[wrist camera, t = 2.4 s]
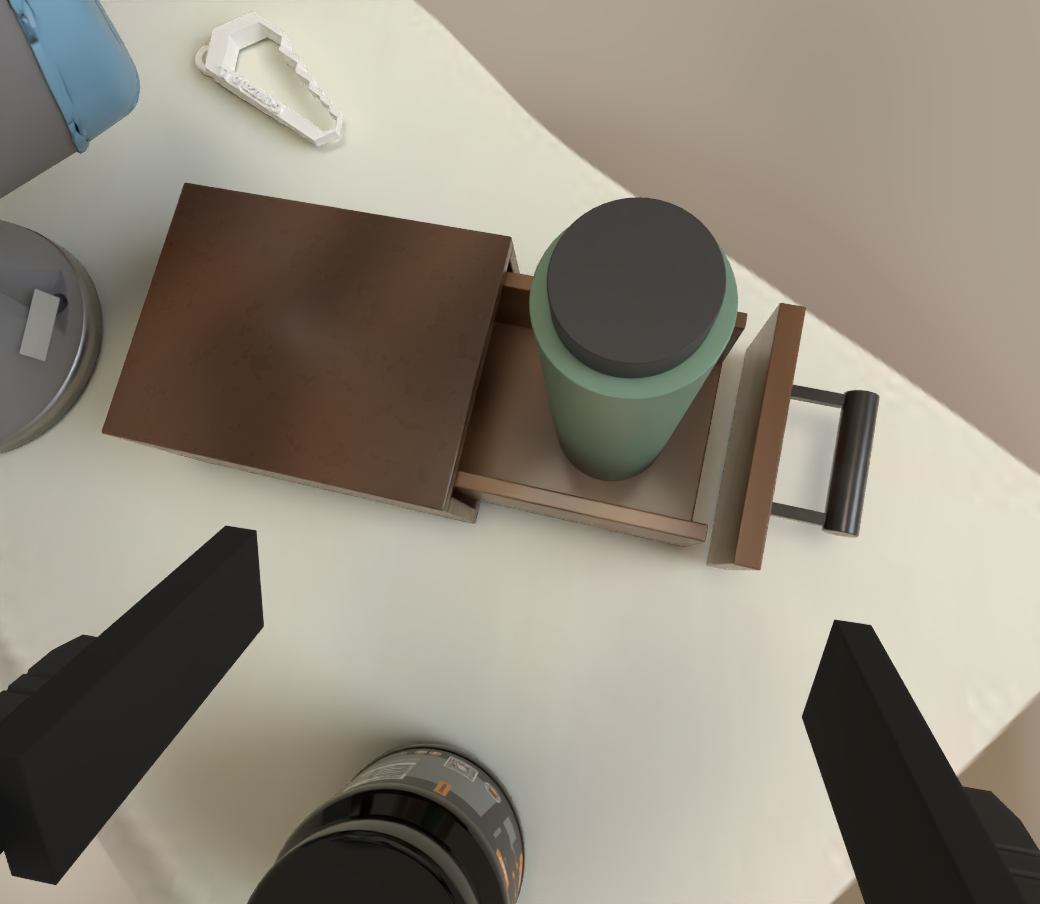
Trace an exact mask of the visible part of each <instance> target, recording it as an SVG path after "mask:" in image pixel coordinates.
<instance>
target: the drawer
mask: <svg viewBox="0 0 1040 904" xmlns="http://www.w3.org/2000/svg"><path fill="white" fill-rule="evenodd" d="M532 280H533V276H529V275H523V274H517V273H512V272H506V276H505V280H504V284H503V288H502V292H501V296H500V300H499V304H498V308H497V312H496V316H495V320H494V324H493V328H492V332H491V336H490V340H489V344H488V348H487V352H486V356H485V360H484V364H483V368H482V372H481V377H480V381H479V385H478V389H477V393H476V397H475V401H474V405H473V409H472V413H471V417H470V421H469V425H468V429H467V433H466V437H465V441H464V445H463V449H462V453H461V457H460V461H459V465H458V469H457V473H456V478H455V482H454V486H453V490H452V494H453V495H457V496H461V497H466V498H470V499H475V500H479V501H484V502H488V503H493V504H497V505H502V506H506V507H510V508H515V509H519V510H524V511H528V512H533V513H537V514H542V515H546V516H550V517H555V518H559V519H564V520H568V521H573V522H577V523H582V524H586V525H590V526H595V527H599V528H604V529H608V530H613V531H617V532H622V533H626V534H631V535H635V536H639V537H644V538H648V539H653V540H657V541H662V542H666V543H671V544H675V545H679V546H688V545H692V544H696V543H701V542H705V539H706V534H707V529H708V525H706V524H702V523H698V522H693V521H692V518H693V513H694V508H695V502H696V497H697V492H698V487H699V481H700V476H701V471H702V466H703V460H704V455H705V450H706V445H707V440H708V434H709V429H710V424H711V419H712V413H713V408H714V403H715V398H716V392H717V387H718V382H719V377H720V372H721V366H722V362H723V361H724V359H725V358H726V356H727V355H728V353H729V352H730V350H731V349H732V347H733V345H734V344H735V342H736V341H737V339H738V338H739V336H740V335H741V333H742V332H743V330H744V329H745V326H746V320H747V314H746V313H742V312H737V317H736V321H735V326H734V329H733V332H732V334H731V337H730V340H729V342H728V343H727V345H726V347H725V349H724V351H723V353H722V354H721V356H720V357H719V359H718V361H717V362H716V364H715V365H714V367H713V369H712V370H711V372H710V374H709V375H708V377H707V378H706V380H705V382H704V383H703V385H702V387H701V388H700V390H699V391H698V393H697V395H696V396H695V398H694V399H693V401H692V403H691V404H690V406H689V408H688V409H687V411H686V412H685V414H684V416H683V417H682V419H681V420H680V422H679V424H678V425H677V427H676V429H675V430H674V432H673V433H672V435H671V437H670V438H669V440H668V441H667V443H666V445H665V446H664V448H663V450H662V451H661V453H660V454H659V456H658V457H657V459H656V460H655V461H654V462H653V463H652V465H651V466H650V467H648V468H647V469H646V470H645V471H643V472H641V473H640V474H638V475H636V476H634V477H631V478H628V479H625V480H618V481H606V480H600V479H596V478H593V477H590V476H588V475H586V474H584V473H582V472H581V471H580V470H578V469H577V468H576V467H575V466H574V465H572V464H571V462H570V461H569V460H568V459H567V457H566V456H565V454H564V453H563V451H562V448H561V446H560V443H559V440H558V436H557V431H556V427H555V423H554V419H553V414H552V410H551V406H550V401H549V397H548V393H547V389H546V384H545V380H544V376H543V371H542V367H541V363H540V359H539V354H538V350H537V346H536V341H535V337H534V333H533V329H532V324H531V318H530V312H529V297H530V289H531V284H532ZM805 310H806V307H802V306H796V305H790V304H784V303H780V304H779V305H778V307H777V308H776V310H775V311H774V312H773V314H772V315H771V317H770V318H769V319H768V321H767V322H766V323H765V325H764V326H763V328H762V329H761V330H760V332H759V333H758V335H757V336H756V337H755V339H754V340H753V342H752V343H751V344H750V346H749V347H748V348H747V350H746V354H745V359H744V365H743V370H742V375H741V381H740V386H739V392H738V397H737V402H736V408H735V413H734V418H733V424H732V429H731V435H730V440H729V445H728V451H727V456H726V461H725V467H724V472H723V478H722V483H721V488H720V494H719V499H718V504H717V510H716V515H715V521H714V526H713V531H712V537H711V542H710V548H709V553H708V558H707V565H708V566H712V567H716V568H721V569H725V570H760V569H761V564H762V558H763V553H764V547H765V541H766V535H767V529H768V524H769V518H770V516H775V517H780V518H784V519H789V520H794V521H798V522H803V523H808V524H812V525H817V526H822V531H824V532H826V533H829V534H833V535H838V536H844V537H858V536H859V529H860V523H861V516H862V509H863V503H864V496H865V490H866V483H867V477H868V470H869V463H870V457H871V450H872V444H873V437H874V431H875V424H876V418H877V411H878V404H879V395H877V394H876V393H873V392H869V391H863V390H852V391H847V392H845V393H844V394H840V393H835V392H829V391H824V390H819V389H813V388H808V387H803V386H797V385H793V380H794V374H795V368H796V362H797V357H798V351H799V345H800V339H801V333H802V328H803V322H804V316H805ZM790 399H794V400H799V401H804V402H810V403H815V404H820V405H825V406H831V407H836V408H841V413H840V419H839V425H838V432H837V438H836V444H835V450H834V456H833V463H832V469H831V475H830V481H829V487H828V494H827V500H826V506H825V512H824V513H822V512H817V511H812V510H807V509H803V508H798V507H793V506H789V505H784V504H779V503H774V502H772V501H773V495H774V489H775V483H776V478H777V472H778V466H779V460H780V455H781V449H782V443H783V437H784V431H785V426H786V420H787V414H788V408H789V403H790Z"/></svg>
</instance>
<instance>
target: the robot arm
mask: <svg viewBox="0 0 1040 904" xmlns="http://www.w3.org/2000/svg"><path fill="white" fill-rule="evenodd" d="M139 93H140V82H139V76H138V73H137V70H136V67H135V65H134V63H133V60H132V58H131V56H130V55H129V53H128V51H127V49H126V47H125V45H124V43H123V41H122V40H121V38H120V36H119V34H118V33H117V31H116V29H115V27H114V26H113V24H112V22H111V21H110V19H109V17H108V15H107V14H106V12H105V10H104V9H103V7H102V5H101V4H100V2H99V0H0V198H2V197H3V196H5V195H7V194H8V193H10V192H12V191H13V190H15V189H16V188H18V187H20V186H21V185H23V184H25V183H26V182H28V181H30V180H31V179H33V178H34V177H36V176H38V175H39V174H41V173H43V172H44V171H46V170H47V169H49V168H51V167H52V166H54V165H56V164H57V163H59V162H60V161H62V160H64V159H65V158H67V157H69V156H70V155H72V154H73V153H75V152H78V153H80V154H81V153H83V152H85V151H86V150H87V148H88V147H89V142H90V141H91V140H93V139H94V138H95V137H97V136H98V135H100V134H101V133H103V132H104V131H105V130H107V129H108V128H110V127H111V126H112V125H114V124H115V123H117V122H118V121H120V120H121V119H122V118H124V117H125V116H127V115H128V114H129V113H130V112H131V111H132V110H133V109H134V107H135V106H136V104H137V102H138V97H139ZM101 331H102V319H101V309H100V303H99V299H98V295H97V292H96V289H95V287H94V284H93V282H92V280H91V278H90V276H89V275H88V273H87V272H86V270H85V269H84V267H83V266H82V265H81V264H80V263H79V261H78V260H77V259H76V258H75V257H73V256H72V255H71V254H70V253H69V252H67V251H66V250H65V249H63V248H62V247H60V246H59V245H57V244H55V243H54V242H52V241H50V240H49V239H47V238H45V237H44V236H42V235H40V234H38V233H37V232H34V231H32V230H30V229H27V228H24V227H21V226H18V225H16V224H12V223H9V222H5V221H0V453H2V452H6V451H9V450H12V449H14V448H17V447H19V446H22V445H24V444H26V443H28V442H30V441H32V440H33V439H35V438H36V437H38V436H40V435H41V434H43V433H44V432H45V431H47V430H48V429H49V428H50V427H52V426H53V425H54V424H55V423H56V422H57V421H58V420H60V419H61V417H62V416H63V415H64V414H65V413H66V412H67V411H68V410H69V409H70V407H71V406H72V405H73V404H74V402H75V401H76V400H77V398H78V397H79V395H80V394H81V392H82V391H83V389H84V387H85V385H86V383H87V382H88V380H89V377H90V375H91V373H92V371H93V368H94V365H95V362H96V359H97V356H98V352H99V347H100V341H101ZM263 627H264V621H263V608H262V595H261V583H260V570H259V557H258V544H257V531H256V530H250V529H244V528H237V527H231V526H225V527H224V528H222V529H221V530H220V531H219V532H218V533H217V534H215V535H214V536H213V537H212V538H211V539H210V540H209V541H207V542H206V543H205V544H204V545H203V546H202V547H201V548H199V549H198V550H197V551H196V552H195V553H194V554H193V555H191V556H190V557H189V558H188V559H187V560H186V561H184V562H183V563H182V564H181V565H180V566H179V567H178V568H176V569H175V570H174V571H173V572H172V573H171V574H170V575H168V576H167V577H166V578H165V579H164V580H163V581H161V582H160V583H159V584H158V585H157V586H156V587H155V588H153V589H152V590H151V591H150V592H149V593H148V594H147V595H145V596H144V597H143V598H142V599H141V600H140V601H139V602H137V603H136V604H135V605H134V606H133V607H132V608H130V609H129V610H128V611H127V612H126V613H125V614H124V615H122V616H121V617H120V618H119V619H118V620H117V621H116V622H114V623H113V624H112V625H111V626H110V627H109V628H108V629H106V630H105V631H104V632H103V633H102V634H101V635H99V636H98V637H94V636H88V635H81V636H79V637H77V638H75V639H73V640H71V641H69V642H67V643H65V644H63V645H61V646H59V647H57V648H55V649H53V650H52V651H51V652H49V653H48V654H47V655H46V656H44V657H43V658H42V659H41V660H40V661H38V662H37V663H36V664H35V665H34V666H32V667H31V668H30V669H29V670H28V673H27V674H23V675H21V676H20V677H19V678H18V679H17V680H15V681H14V682H13V683H12V684H10V685H9V686H8V689H7V691H4V690H3V691H2V692H1V693H0V854H1V853H2V852H3V851H4V852H5V855H6V858H7V862H8V864H9V868H10V871H11V874H12V876H16V877H20V878H25V879H30V880H34V881H39V882H44V883H48V884H53V885H56V884H57V883H58V882H59V881H60V880H61V878H62V877H63V876H64V875H65V873H66V872H67V871H68V870H69V868H70V867H71V866H72V865H73V863H74V862H75V861H76V860H77V858H78V857H79V856H80V855H81V853H82V852H83V851H84V850H85V848H86V847H87V846H88V845H89V843H90V842H91V841H92V840H93V839H94V837H95V836H96V835H97V834H98V832H99V831H100V830H101V829H102V827H103V826H104V825H105V824H106V822H107V821H108V820H109V819H110V817H111V816H112V815H113V814H114V812H115V811H116V810H117V809H118V807H119V806H120V805H121V804H122V802H123V801H124V800H125V799H126V797H127V796H128V795H129V794H130V792H131V791H132V790H133V789H134V787H135V786H136V785H137V784H138V782H139V781H140V780H141V779H142V777H143V776H144V775H145V774H146V773H147V771H148V770H149V769H150V768H151V766H152V765H153V764H154V763H155V761H156V760H157V759H158V758H159V756H160V755H161V754H162V753H163V751H164V750H165V749H166V748H167V746H168V745H169V744H170V743H171V741H172V740H173V739H174V738H175V736H176V735H177V734H178V733H179V731H180V730H181V729H182V728H183V726H184V725H185V724H186V723H187V721H188V720H189V719H190V718H191V716H192V715H193V714H194V713H195V711H196V710H197V709H198V708H199V706H200V705H201V704H202V703H203V702H204V700H205V699H206V698H207V697H208V695H209V694H210V693H211V692H212V690H213V689H214V688H215V687H216V685H217V684H218V683H219V682H220V680H221V679H222V678H223V677H224V675H225V674H226V673H227V672H228V670H229V669H230V668H231V667H232V665H233V664H234V663H235V662H236V660H237V659H238V658H239V657H240V655H241V654H242V653H243V652H244V650H245V649H246V648H247V647H248V645H249V644H250V643H251V642H252V640H253V639H254V638H255V637H256V635H257V634H258V633H259V632H260V630H261V629H262V628H263ZM802 719H803V722H804V725H805V728H806V731H807V734H808V737H809V740H810V743H811V746H812V749H813V751H814V754H815V757H816V760H817V763H818V766H819V769H820V772H821V775H822V778H823V781H824V784H825V787H826V790H827V793H828V796H829V799H830V802H831V805H832V808H833V811H834V814H835V817H836V819H837V822H838V825H839V828H840V831H841V834H842V837H843V840H844V843H845V846H846V849H847V852H848V855H849V858H850V861H851V864H852V867H853V870H854V873H855V876H856V879H857V881H858V884H859V887H860V890H861V893H862V896H863V899H864V902H865V904H1040V850H1039V849H1038V847H1037V846H1036V844H1035V843H1034V841H1033V839H1032V838H1031V836H1030V835H1029V833H1028V831H1027V830H1026V828H1025V827H1024V825H1023V824H1022V822H1021V820H1020V819H1019V818H1018V817H1017V816H1016V815H1014V813H1013V812H1011V810H1010V809H1008V808H1007V807H1006V806H1005V805H1004V804H1003V803H1002V802H1001V801H1000V800H999V799H998V798H997V797H996V796H995V795H994V794H993V793H992V792H991V791H985V790H980V789H974V788H968V787H963V786H962V785H961V783H960V782H959V780H958V778H957V776H956V774H955V773H954V771H953V769H952V767H951V766H950V764H949V762H948V760H947V759H946V757H945V755H944V753H943V751H942V750H941V748H940V746H939V744H938V743H937V741H936V739H935V737H934V735H933V734H932V732H931V730H930V728H929V727H928V725H927V723H926V721H925V720H924V718H923V716H922V714H921V712H920V711H919V709H918V707H917V705H916V704H915V702H914V700H913V698H912V697H911V695H910V693H909V691H908V689H907V688H906V686H905V684H904V682H903V681H902V679H901V677H900V675H899V674H898V672H897V670H896V668H895V666H894V665H893V663H892V661H891V659H890V658H889V656H888V654H887V652H886V651H885V649H884V647H883V645H882V643H881V642H880V640H879V638H878V636H877V635H876V633H875V631H874V629H873V627H872V626H871V625H866V624H860V623H853V622H847V621H840V620H834V622H833V625H832V628H831V631H830V634H829V637H828V640H827V643H826V646H825V649H824V652H823V655H822V658H821V661H820V664H819V667H818V670H817V673H816V676H815V679H814V682H813V685H812V688H811V691H810V694H809V697H808V700H807V703H806V706H805V709H804V712H803V715H802Z"/></svg>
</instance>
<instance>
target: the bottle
mask: <svg viewBox="0 0 1040 904" xmlns="http://www.w3.org/2000/svg"><path fill="white" fill-rule="evenodd" d="M737 308H738V295H737V286H736V281H735V277H734V274H733V271H732V268H731V265H730V263H729V261H728V259H727V257H726V256H725V254H724V252H723V251H722V249H721V248H720V246H719V245H718V244H717V242H716V240H715V239H714V237H713V236H712V234H711V233H710V232H709V230H708V229H707V228H706V227H705V226H704V225H703V224H702V223H701V222H700V221H699V220H698V219H697V218H695V217H694V216H693V215H692V214H690V213H689V212H687V211H686V210H684V209H682V208H680V207H678V206H676V205H673V204H671V203H668V202H664V201H661V200H656V199H651V198H625V199H619V200H614V201H611V202H608V203H605V204H602V205H600V206H598V207H596V208H593V209H592V210H590V211H588V212H587V213H585V214H584V215H582V216H581V217H580V218H578V219H577V220H576V221H575V222H574V223H573V224H572V225H571V226H570V227H568V228H567V229H566V230H565V231H563V232H562V233H561V234H560V235H559V236H558V237H557V238H556V239H555V240H554V241H553V242H552V244H551V245H550V246H549V247H548V249H547V250H546V251H545V253H544V255H543V256H542V258H541V260H540V262H539V264H538V266H537V268H536V271H535V273H534V276H533V280H532V284H531V289H530V297H529V312H530V318H531V324H532V329H533V333H534V337H535V341H536V346H537V350H538V354H539V359H540V363H541V367H542V371H543V376H544V380H545V384H546V389H547V393H548V397H549V401H550V406H551V410H552V414H553V419H554V423H555V427H556V431H557V436H558V440H559V443H560V446H561V448H562V451H563V453H564V454H565V456H566V457H567V459H568V460H569V461H570V462H571V464H572V465H574V466H575V467H576V468H577V469H578V470H580V471H581V472H582V473H584V474H586V475H588V476H590V477H593V478H596V479H600V480H606V481H618V480H625V479H628V478H631V477H634V476H636V475H638V474H640V473H641V472H643V471H645V470H646V469H647V468H648V467H650V466H651V465H652V463H653V462H654V461H655V460H656V459H657V457H658V456H659V454H660V453H661V451H662V450H663V448H664V446H665V445H666V443H667V441H668V440H669V438H670V437H671V435H672V433H673V432H674V430H675V429H676V427H677V425H678V424H679V422H680V420H681V419H682V417H683V416H684V414H685V412H686V411H687V409H688V408H689V406H690V404H691V403H692V401H693V399H694V398H695V396H696V395H697V393H698V391H699V390H700V388H701V387H702V385H703V383H704V382H705V380H706V378H707V377H708V375H709V374H710V372H711V370H712V369H713V367H714V365H715V364H716V362H717V361H718V359H719V357H720V356H721V354H722V353H723V351H724V349H725V347H726V345H727V343H728V342H729V340H730V337H731V334H732V332H733V329H734V326H735V321H736V317H737Z"/></svg>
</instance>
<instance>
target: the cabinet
mask: <svg viewBox="0 0 1040 904" xmlns="http://www.w3.org/2000/svg"><path fill="white" fill-rule="evenodd" d="M506 272H512V273H517V274H520V272H519V268H518V264H517V260H516V255H515V251H514V247H513V242H512V238H511V237H509V236H503V235H497V234H491V233H485V232H479V231H473V230H467V229H461V228H455V227H449V226H443V225H437V224H431V223H425V222H419V221H413V220H407V219H401V218H395V217H389V216H383V215H377V214H371V213H365V212H359V211H353V210H347V209H341V208H335V207H329V206H323V205H317V204H311V203H305V202H299V201H293V200H287V199H281V198H275V197H269V196H263V195H257V194H251V193H245V192H239V191H233V190H227V189H220V188H214V187H208V186H202V185H196V184H190V183H184V186H183V189H182V192H181V195H180V198H179V201H178V204H177V207H176V210H175V213H174V216H173V219H172V222H171V225H170V228H169V231H168V234H167V237H166V240H165V243H164V246H163V249H162V252H161V255H160V258H159V261H158V264H157V267H156V270H155V273H154V276H153V279H152V282H151V285H150V288H149V291H148V294H147V297H146V300H145V303H144V306H143V309H142V312H141V315H140V318H139V321H138V324H137V327H136V330H135V333H134V336H133V339H132V342H131V345H130V348H129V351H128V354H127V357H126V360H125V363H124V366H123V369H122V372H121V375H120V378H119V381H118V384H117V387H116V390H115V393H114V396H113V399H112V402H111V405H110V408H109V411H108V414H107V417H106V420H105V423H104V426H103V429H102V433H103V434H107V435H110V436H114V437H117V438H121V439H124V440H128V441H132V442H135V443H139V444H142V445H146V446H150V447H153V448H157V449H160V450H164V451H167V452H171V453H175V454H178V455H182V456H185V457H189V458H193V459H196V460H200V461H204V462H208V463H212V464H217V465H221V466H225V467H230V468H234V469H238V470H243V471H247V472H251V473H256V474H260V475H264V476H269V477H273V478H278V479H282V480H286V481H291V482H295V483H299V484H304V485H308V486H312V487H317V488H321V489H325V490H330V491H334V492H338V493H343V494H347V495H351V496H356V497H360V498H364V499H369V500H373V501H377V502H382V503H386V504H391V505H395V506H399V507H404V508H408V509H412V510H417V511H421V512H425V513H430V514H434V515H438V516H443V517H447V518H451V519H456V520H460V521H464V522H469V523H473V524H474V523H475V522H476V518H477V514H478V510H479V506H480V502H481V501H479V500H475V499H470V498H466V497H461V496H457V495H453V494H452V490H453V486H454V482H455V478H456V473H457V469H458V465H459V461H460V457H461V453H462V449H463V445H464V441H465V437H466V433H467V429H468V425H469V421H470V417H471V413H472V409H473V405H474V401H475V397H476V393H477V389H478V385H479V381H480V377H481V372H482V368H483V364H484V360H485V356H486V352H487V348H488V344H489V340H490V336H491V332H492V328H493V324H494V320H495V316H496V312H497V308H498V304H499V300H500V296H501V292H502V288H503V284H504V280H505V276H506Z"/></svg>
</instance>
